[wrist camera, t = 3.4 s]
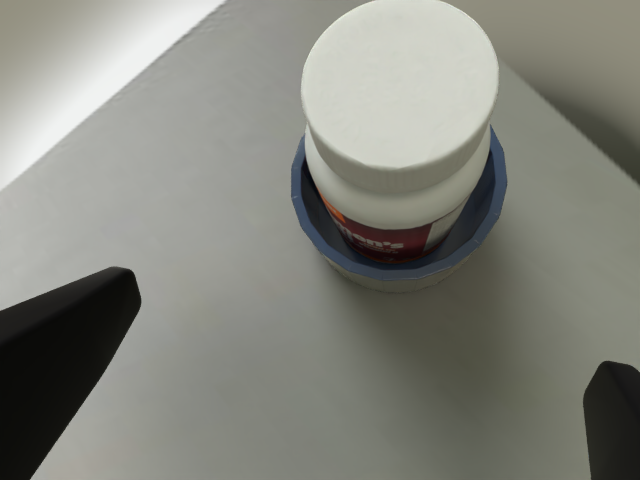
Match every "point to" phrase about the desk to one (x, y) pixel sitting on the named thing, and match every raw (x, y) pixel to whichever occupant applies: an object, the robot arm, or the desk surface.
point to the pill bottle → (398, 123)
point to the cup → (414, 274)
